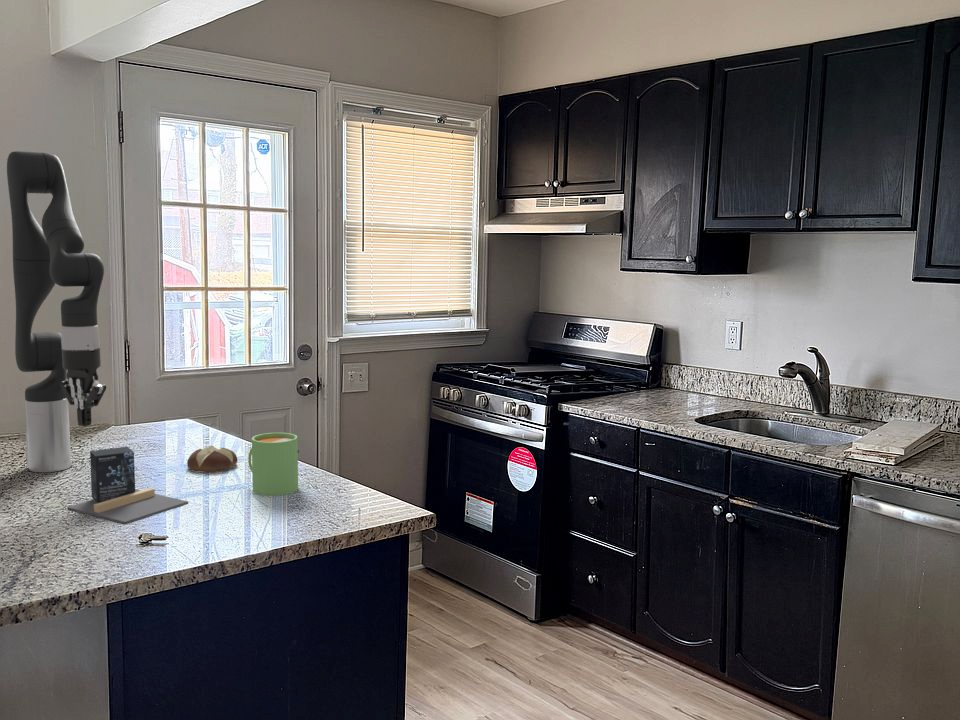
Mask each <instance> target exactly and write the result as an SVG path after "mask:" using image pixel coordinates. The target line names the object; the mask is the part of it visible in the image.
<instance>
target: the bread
mask: <svg viewBox="0 0 960 720" xmlns="http://www.w3.org/2000/svg"><path fill="white" fill-rule="evenodd" d="M186 462H187V463H186V465H187V468H188V470H190V471H192V472H200V473H218V472H222V471H226V470H229V469H231V468H232V467H234V466H236V465H237V463H238V457H237V454H236V453H235V452H234V451H233V450H231V449H228V448H226V447H221V448H219V449H218V448H217V447H215V446H214V445H209V446H206V447H204V448H199V449H196V450H195V451H193V452H192V453H191V454H190V455H189V457H188V459H187V461H186Z"/></svg>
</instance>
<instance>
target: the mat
mask: <svg viewBox="0 0 960 720" xmlns="http://www.w3.org/2000/svg"><path fill="white" fill-rule="evenodd" d="M155 490H156V489H155V488H152V487H151V488H150V487H149V488H145V489H143V490H139V489H137V488H135V493H131V494H128V495H124V496H121V497H118V498H114V499H111V500H107V501H104V502H100V503H96V502H95V500H94V499H93V498H92V499H91V500H87V501H83V502H80V503H76V504H73V505H69V506H67V507H66V508H67V510H70V511H74V512H77V513H82V514H85V515H89V516H93V517H96V518H101V519H104V520H109V521H113V522H117V523H120V524H126V525H127V524H129V523H131V522H134V521H138V520H141V519H144V518H147V517H151V516H153V515H156V514H159V513H162V512H165V511H169V510H172V509H175V508H177V507H181V506H185V505H187V504H189V501H187V500H183V499H180V498H179V499H178V498H174V497H171V496H167V495H161V494H158V493H155Z"/></svg>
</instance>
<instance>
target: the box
mask: <svg viewBox="0 0 960 720" xmlns="http://www.w3.org/2000/svg"><path fill="white" fill-rule="evenodd" d="M89 453H90V455H89V456H90V457H89V460H90V461H89V462H90V484H91V485H90V487H91V489H90V491H91V498H92V500H93V499H94V500H95V502H96V503H100V502H104V501H107V500H111V499H114V498H118V497H121V496H124V495H128V494H131V493H135V489H136V480H135V479H136V474H135V470H136V469H135V452H134V450H132V449H131V448H129V447H128V446H121V447H113V448H105V449H104V448H103V449H97V450H95V449H93V450H90V451H89Z"/></svg>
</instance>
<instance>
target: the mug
mask: <svg viewBox="0 0 960 720" xmlns="http://www.w3.org/2000/svg"><path fill="white" fill-rule="evenodd" d="M299 452H300V450H299V448H298V436H297V434H294V433H289V432H267V433H266V432H265V433H261V434H256V435H254V436H252V437H251V448H250V450H249V453H248V459H247V460H248V467H249V471H251V473H252V475H251V477H252V479H251V481H252V492H253V493H254V494H257V495H260V496H268V497H269V496H271V497H274V496H284V495H289V494H292V493H295V492H297V491H298V490H299V459H298V458H299V455H298V454H299Z"/></svg>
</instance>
